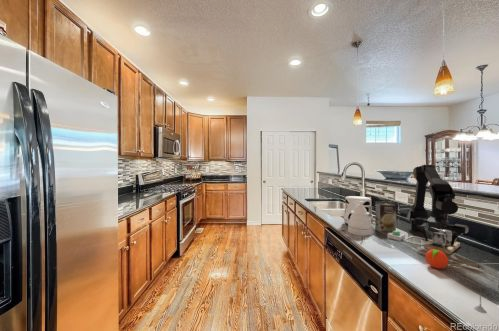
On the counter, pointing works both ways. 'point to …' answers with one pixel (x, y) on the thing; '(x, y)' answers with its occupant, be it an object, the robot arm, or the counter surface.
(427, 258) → the tomato
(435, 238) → the cylinder
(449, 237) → the billet
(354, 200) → the milk container
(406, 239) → the grey flat rimmed tray
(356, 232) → the honey pot
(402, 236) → the white square frame
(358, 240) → the counter surface
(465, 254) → the counter surface
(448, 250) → the shallow beige tray
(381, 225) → the coffee box
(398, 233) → the button
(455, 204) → the robot arm
